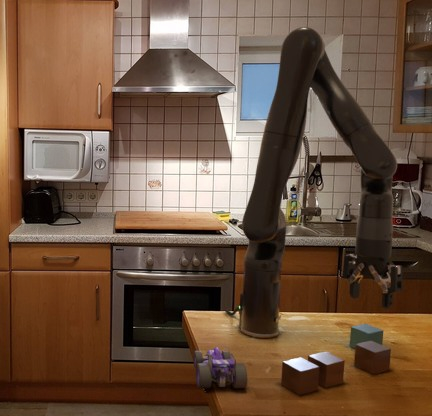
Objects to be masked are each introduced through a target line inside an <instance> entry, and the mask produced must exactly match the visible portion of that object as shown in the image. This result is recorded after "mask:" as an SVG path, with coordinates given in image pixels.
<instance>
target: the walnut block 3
mask: <svg viewBox="0 0 432 416" xmlns="http://www.w3.org/2000/svg"><path fill="white" fill-rule="evenodd" d="M391 355H392V348H390V347H388V346H386V345H383V344H382V345H381V344H378V343H376V342H373V341H367V342H363V343H359V344H356V345H355V348H354V359H353V360H354V361H353V366H354V367H356V368H357V369H360V370H362V371H365V372H366V373H369V374H370V375H373V376H374V375H378V374H381V373H386V372H389V371H390V368H391V366H390V365H391Z"/></svg>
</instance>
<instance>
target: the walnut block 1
mask: <svg viewBox="0 0 432 416" xmlns="http://www.w3.org/2000/svg"><path fill="white" fill-rule="evenodd" d="M318 382H319V366H317V365H315V364H313V363H311V362H309V361H308V359H305V358H303V357H301V356H299V357H296V358H291V359H287V360H283V361H282V363H281V382H280V385H281V386H283V387H285V388H286V389H288V390H290V391H291V392H292V393H295V394H296V395H298V396H302V395H306V394H309V393H313V392H318V391H319V384H318Z"/></svg>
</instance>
